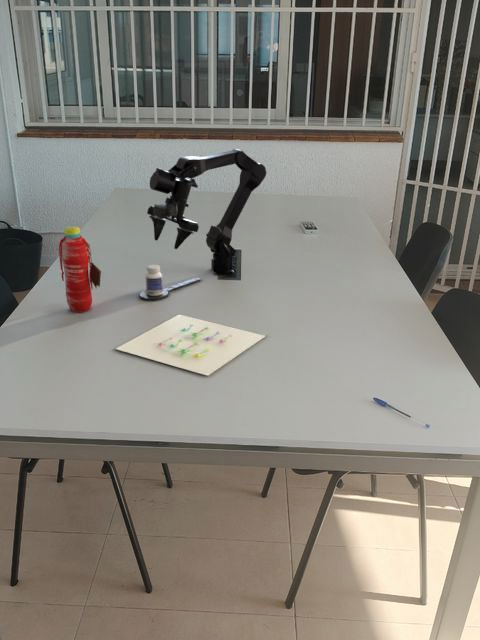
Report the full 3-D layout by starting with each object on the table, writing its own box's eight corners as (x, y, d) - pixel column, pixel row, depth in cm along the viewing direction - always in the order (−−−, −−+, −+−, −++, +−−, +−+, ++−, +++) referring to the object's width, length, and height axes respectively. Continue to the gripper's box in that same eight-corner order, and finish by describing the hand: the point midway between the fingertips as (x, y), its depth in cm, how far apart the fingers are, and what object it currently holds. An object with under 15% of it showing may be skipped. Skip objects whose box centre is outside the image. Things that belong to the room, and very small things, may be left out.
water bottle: (105, 304, 220) (99, 223, 207) (104, 313, 213) (96, 230, 200) (66, 304, 219) (57, 224, 206) (63, 314, 212) (54, 231, 199)
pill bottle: (165, 294, 225) (164, 267, 221) (150, 297, 223) (149, 270, 219) (158, 289, 229) (157, 263, 225) (143, 292, 227) (142, 265, 223)
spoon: (190, 277, 243) (190, 275, 242) (207, 282, 238) (207, 280, 238) (134, 296, 226) (134, 294, 225) (152, 302, 221) (151, 300, 221)
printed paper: (207, 376, 176) (207, 371, 176) (115, 350, 190) (114, 345, 189) (265, 337, 198) (266, 332, 198) (179, 315, 212) (178, 310, 211)
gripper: (142, 185, 226) (129, 233, 231) (183, 201, 217) (169, 251, 222) (164, 191, 235) (152, 237, 240) (205, 207, 226) (191, 254, 231)
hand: (165, 244), depth 233 cm, fingers open, 9 cm apart
